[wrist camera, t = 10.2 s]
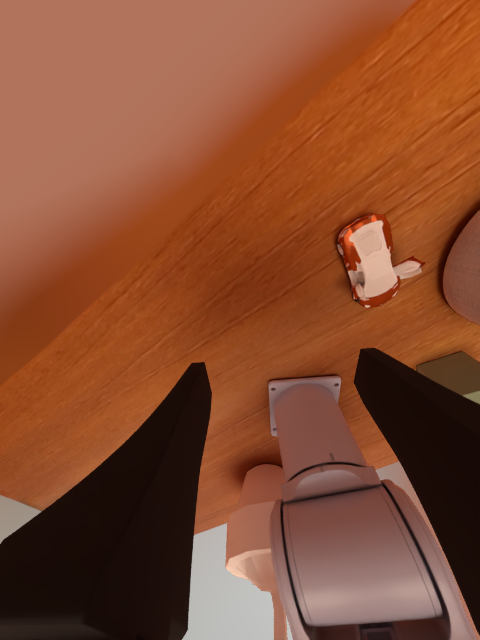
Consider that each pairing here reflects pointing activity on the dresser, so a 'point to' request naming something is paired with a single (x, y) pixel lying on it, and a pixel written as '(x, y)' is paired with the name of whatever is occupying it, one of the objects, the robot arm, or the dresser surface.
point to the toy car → (373, 261)
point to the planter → (464, 272)
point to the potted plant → (257, 536)
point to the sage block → (455, 374)
